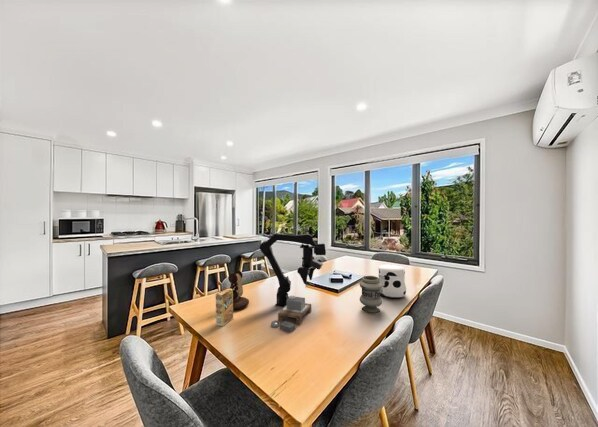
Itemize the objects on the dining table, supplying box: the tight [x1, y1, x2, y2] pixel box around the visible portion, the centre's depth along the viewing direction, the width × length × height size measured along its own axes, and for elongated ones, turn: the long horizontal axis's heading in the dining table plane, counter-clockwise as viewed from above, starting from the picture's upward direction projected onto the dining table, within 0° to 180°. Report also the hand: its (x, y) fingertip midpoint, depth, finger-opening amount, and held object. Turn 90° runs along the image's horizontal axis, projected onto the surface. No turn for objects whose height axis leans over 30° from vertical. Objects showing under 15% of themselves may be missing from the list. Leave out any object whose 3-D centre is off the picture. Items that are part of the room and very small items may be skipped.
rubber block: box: [279, 320, 296, 334], centre depth 109 cm, size 6×4×2 cm, turn 54°
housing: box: [286, 295, 306, 311], centre depth 122 cm, size 6×8×6 cm
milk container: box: [378, 264, 407, 299], centre depth 150 cm, size 17×17×18 cm
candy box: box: [215, 288, 234, 327], centre depth 116 cm, size 9×4×15 cm, turn 162°
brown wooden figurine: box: [227, 269, 250, 311], centre depth 135 cm, size 15×15×20 cm
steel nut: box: [270, 320, 280, 328], centre depth 112 cm, size 4×4×2 cm
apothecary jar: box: [359, 275, 384, 315], centre depth 128 cm, size 12×12×18 cm
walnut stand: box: [277, 302, 312, 326], centre depth 122 cm, size 12×16×4 cm
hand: (308, 281), depth 137 cm, fingers open, 9 cm apart
